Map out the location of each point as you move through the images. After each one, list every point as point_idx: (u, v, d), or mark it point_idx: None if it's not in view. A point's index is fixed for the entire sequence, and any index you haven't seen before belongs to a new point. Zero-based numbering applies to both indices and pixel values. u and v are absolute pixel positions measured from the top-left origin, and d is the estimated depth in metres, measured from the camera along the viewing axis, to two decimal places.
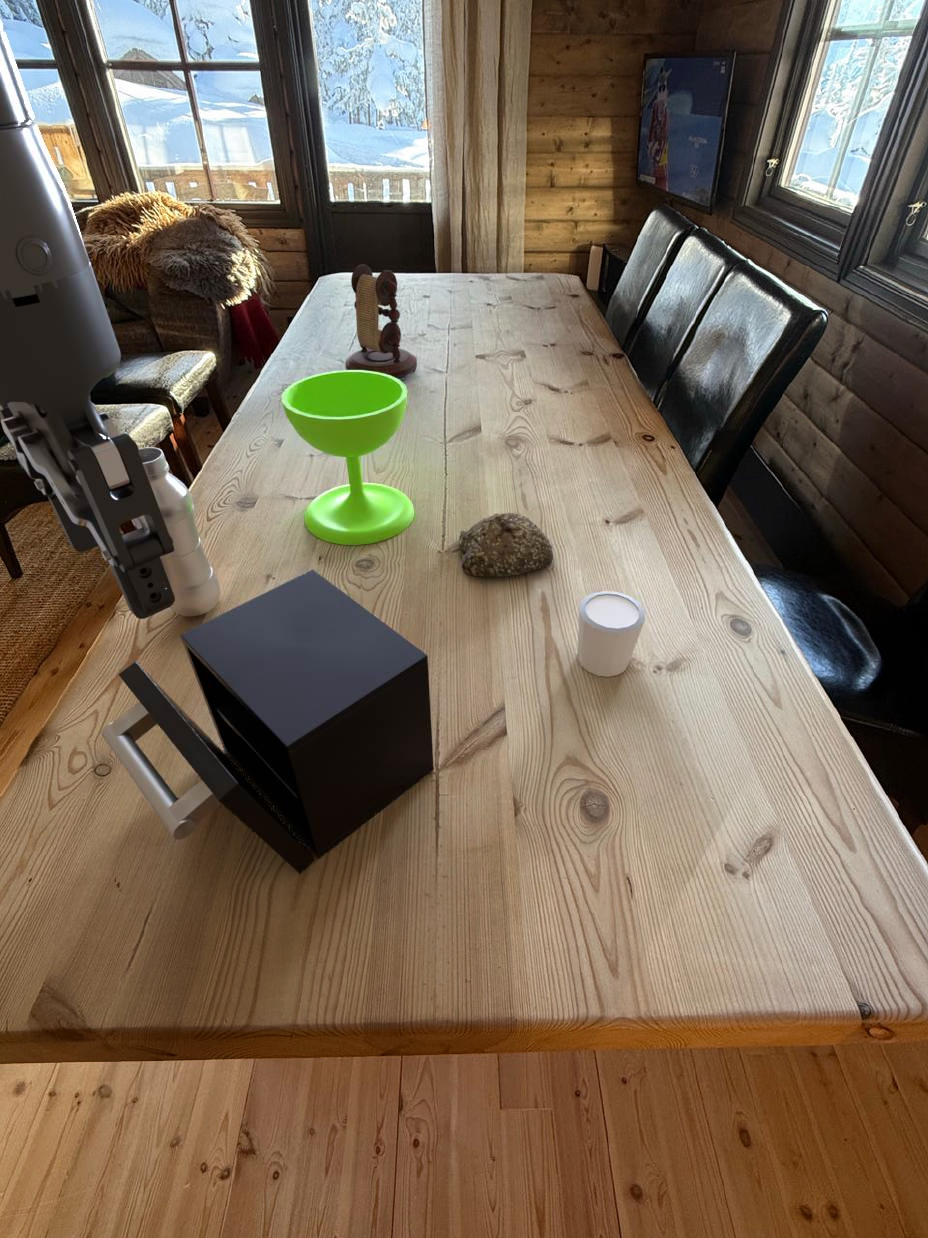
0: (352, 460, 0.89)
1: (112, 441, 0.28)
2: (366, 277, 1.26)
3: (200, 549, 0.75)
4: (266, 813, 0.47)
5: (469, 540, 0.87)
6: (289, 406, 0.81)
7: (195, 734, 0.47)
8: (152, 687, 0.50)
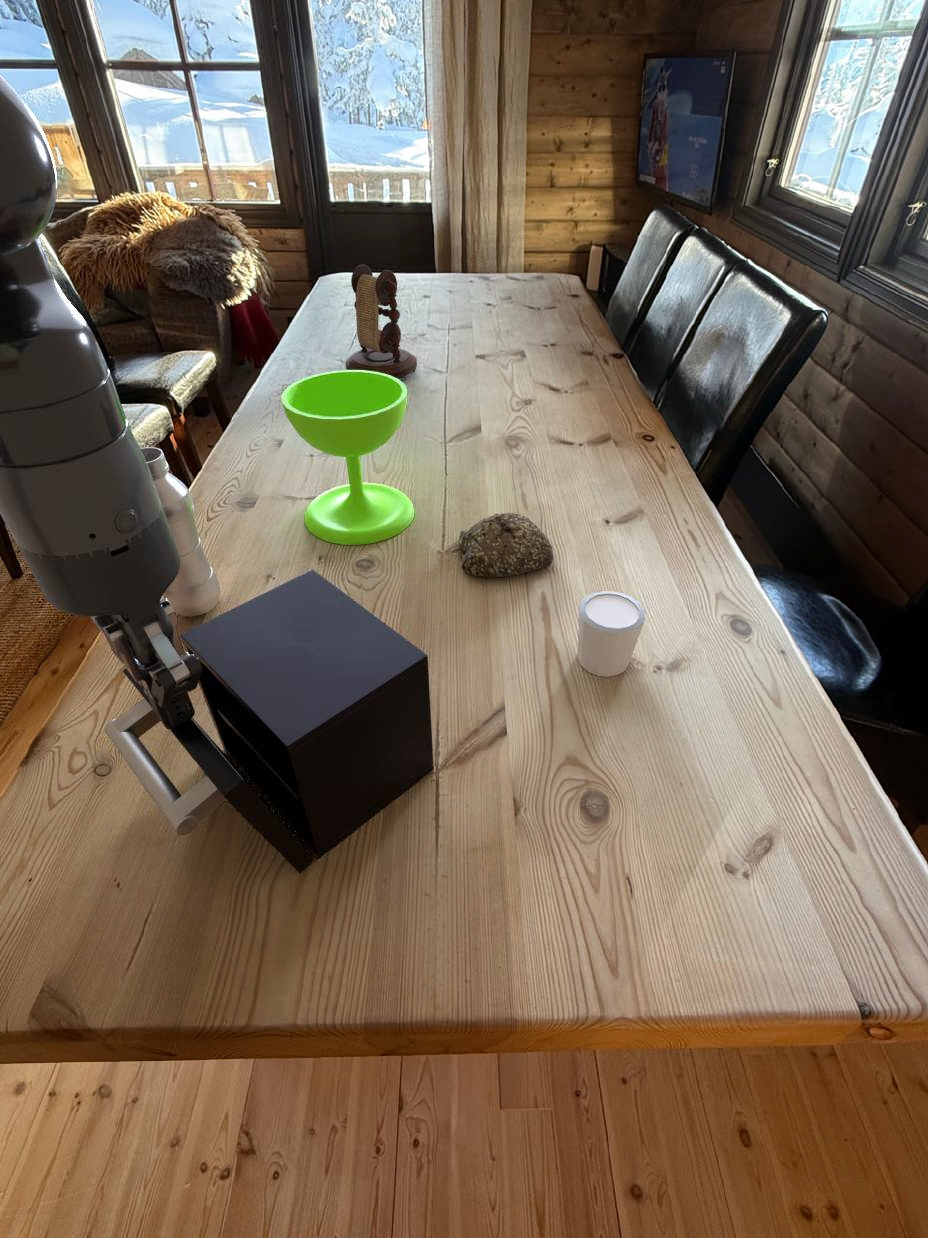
0: (352, 460, 0.89)
1: (188, 670, 0.39)
2: (366, 277, 1.26)
3: (200, 549, 0.75)
4: (269, 810, 0.47)
5: (469, 540, 0.87)
6: (289, 406, 0.81)
7: (200, 730, 0.47)
8: None
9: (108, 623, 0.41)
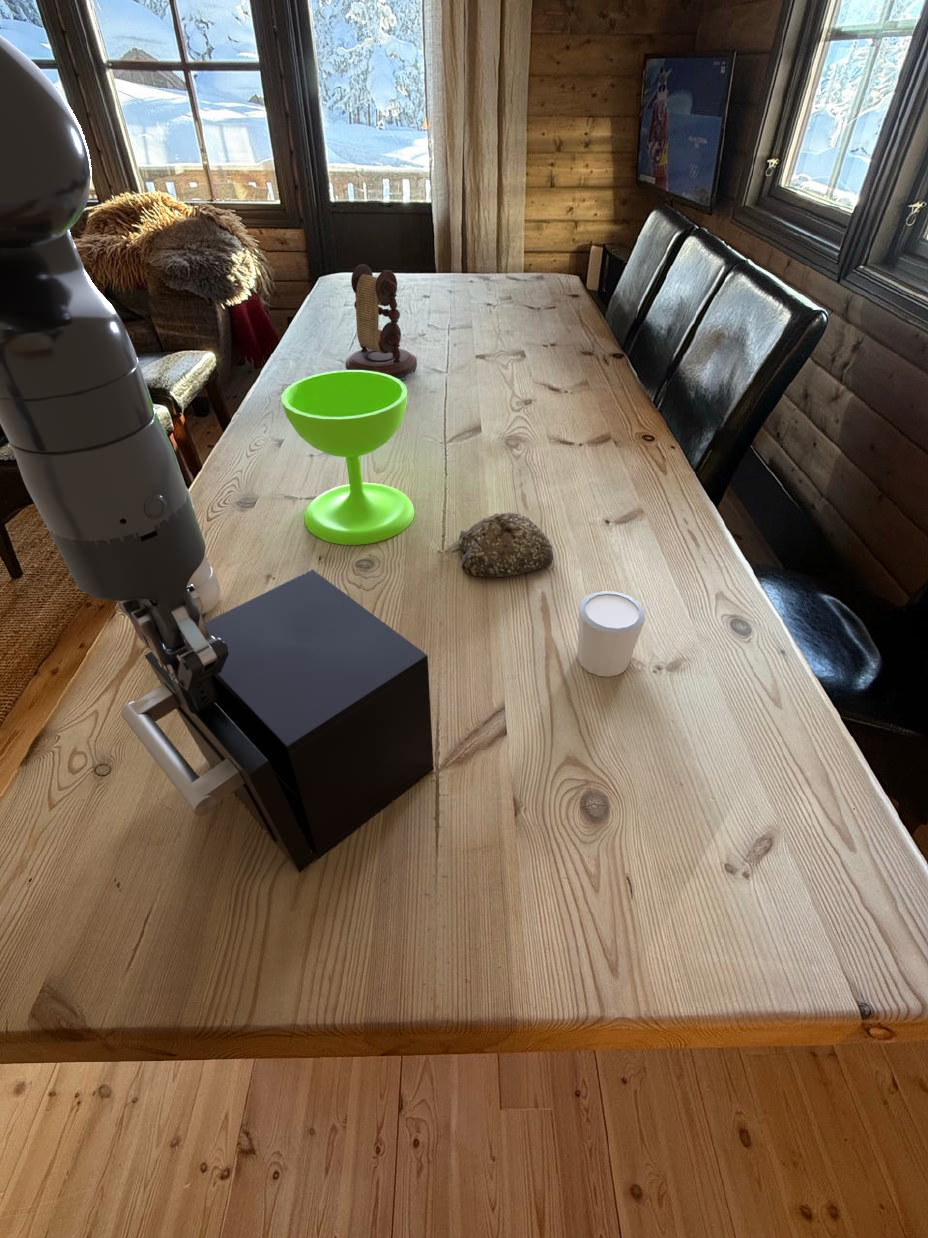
0: (352, 460, 0.89)
1: (215, 653, 0.39)
2: (366, 277, 1.26)
3: None
4: (285, 799, 0.48)
5: (469, 540, 0.87)
6: (289, 406, 0.81)
7: (224, 714, 0.48)
8: None
9: (135, 608, 0.42)
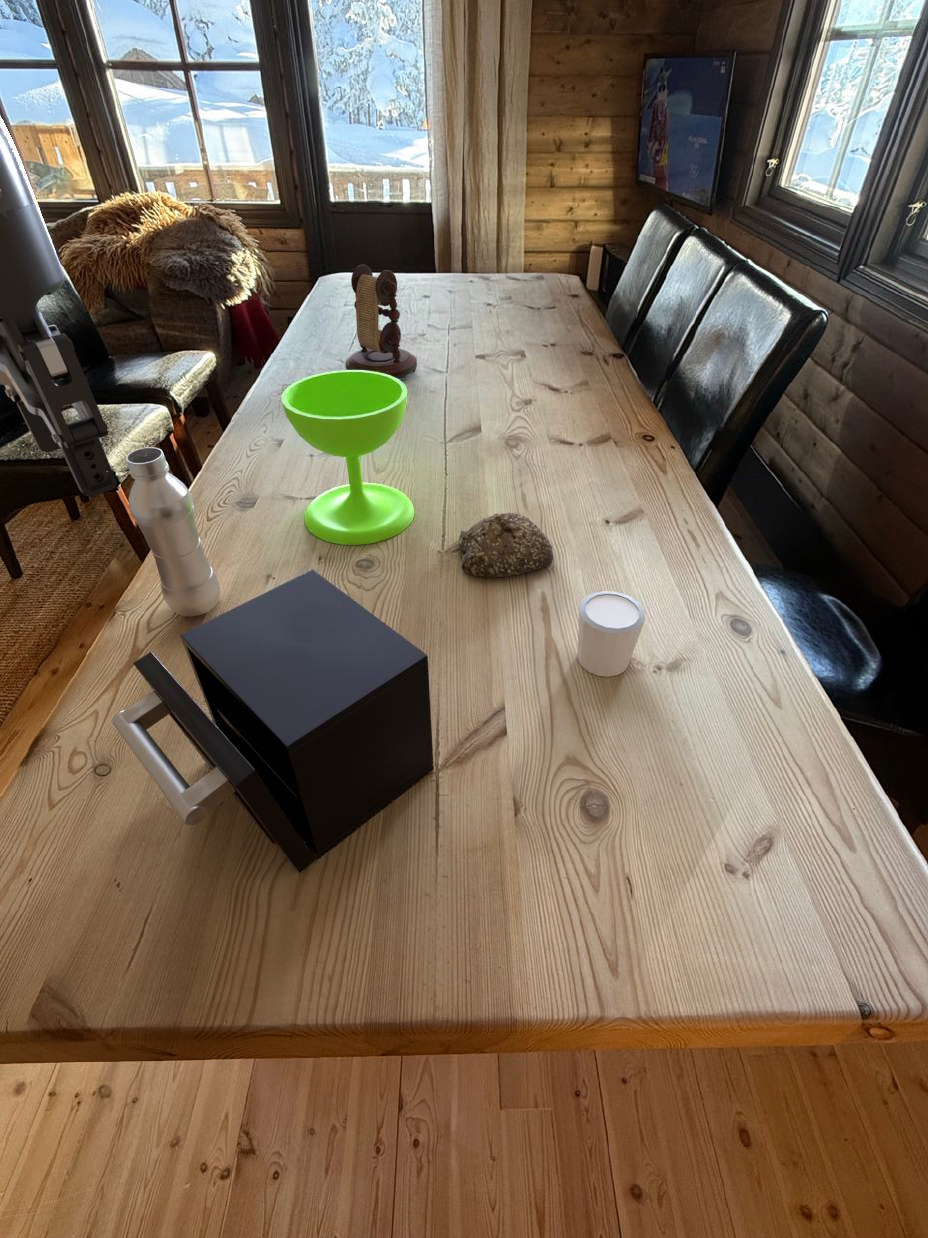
0: (352, 460, 0.89)
1: (52, 338, 0.36)
2: (366, 277, 1.26)
3: (200, 549, 0.75)
4: (276, 805, 0.47)
5: (469, 540, 0.87)
6: (289, 406, 0.81)
7: (211, 722, 0.47)
8: (167, 676, 0.51)
9: None
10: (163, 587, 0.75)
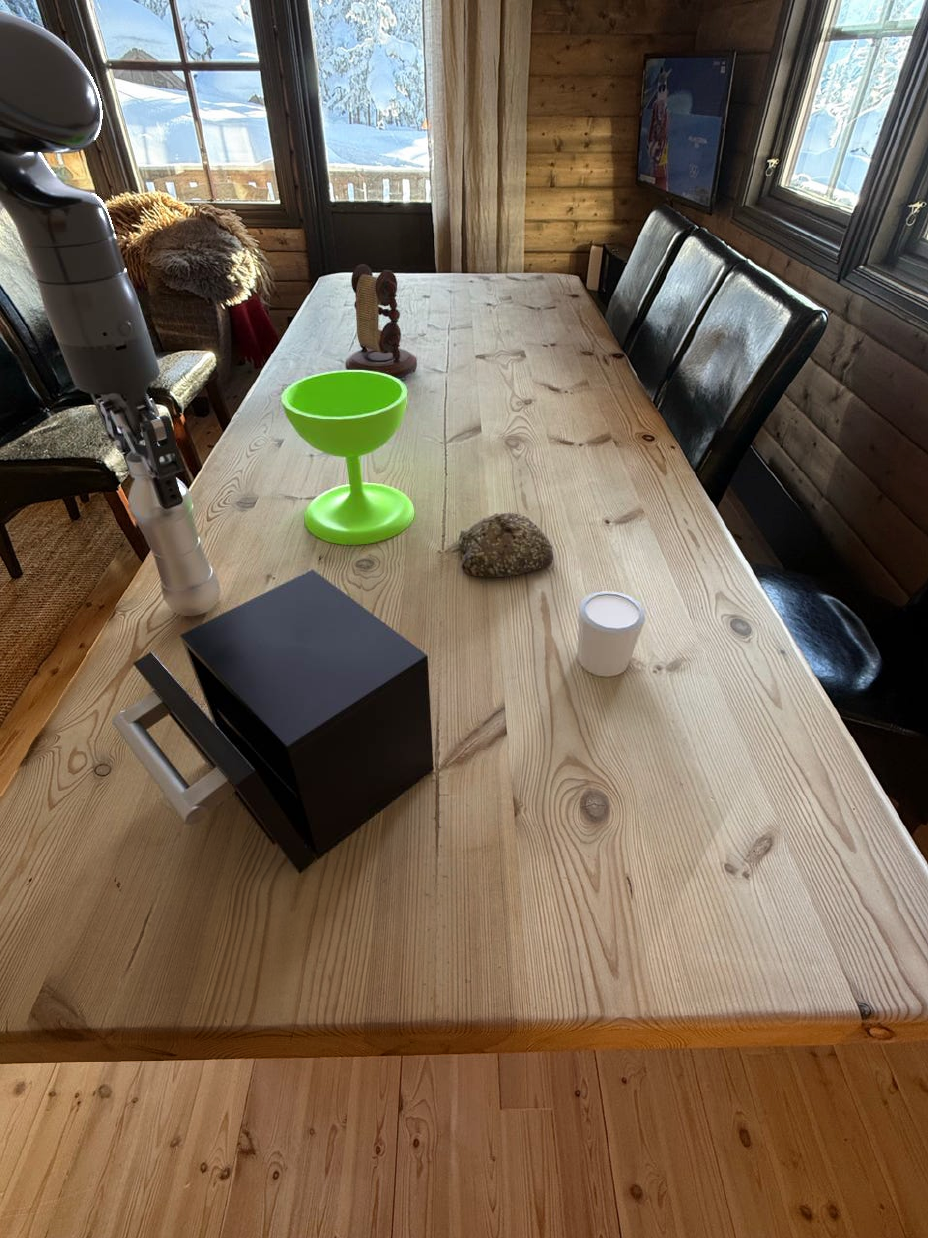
0: (352, 460, 0.89)
1: (160, 419, 0.60)
2: (366, 277, 1.26)
3: (200, 548, 0.75)
4: (276, 805, 0.47)
5: (469, 540, 0.87)
6: (289, 406, 0.81)
7: (211, 722, 0.47)
8: (167, 676, 0.51)
9: None
10: (163, 586, 0.75)
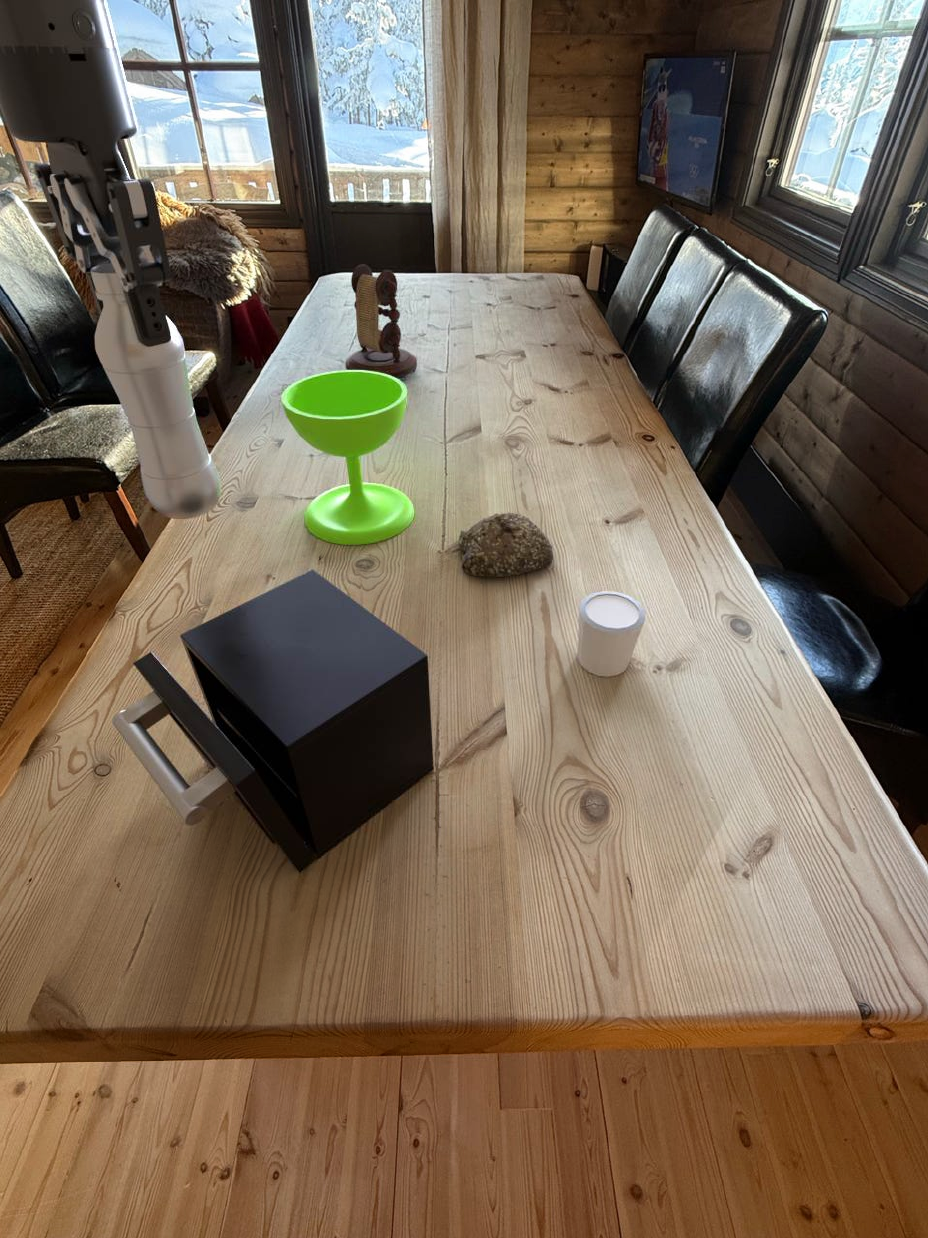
0: (352, 460, 0.89)
1: (138, 182, 0.40)
2: (366, 277, 1.26)
3: (194, 422, 0.55)
4: (276, 805, 0.47)
5: (469, 540, 0.87)
6: (289, 406, 0.81)
7: (211, 722, 0.47)
8: (167, 676, 0.51)
9: (70, 198, 0.44)
10: (144, 474, 0.56)
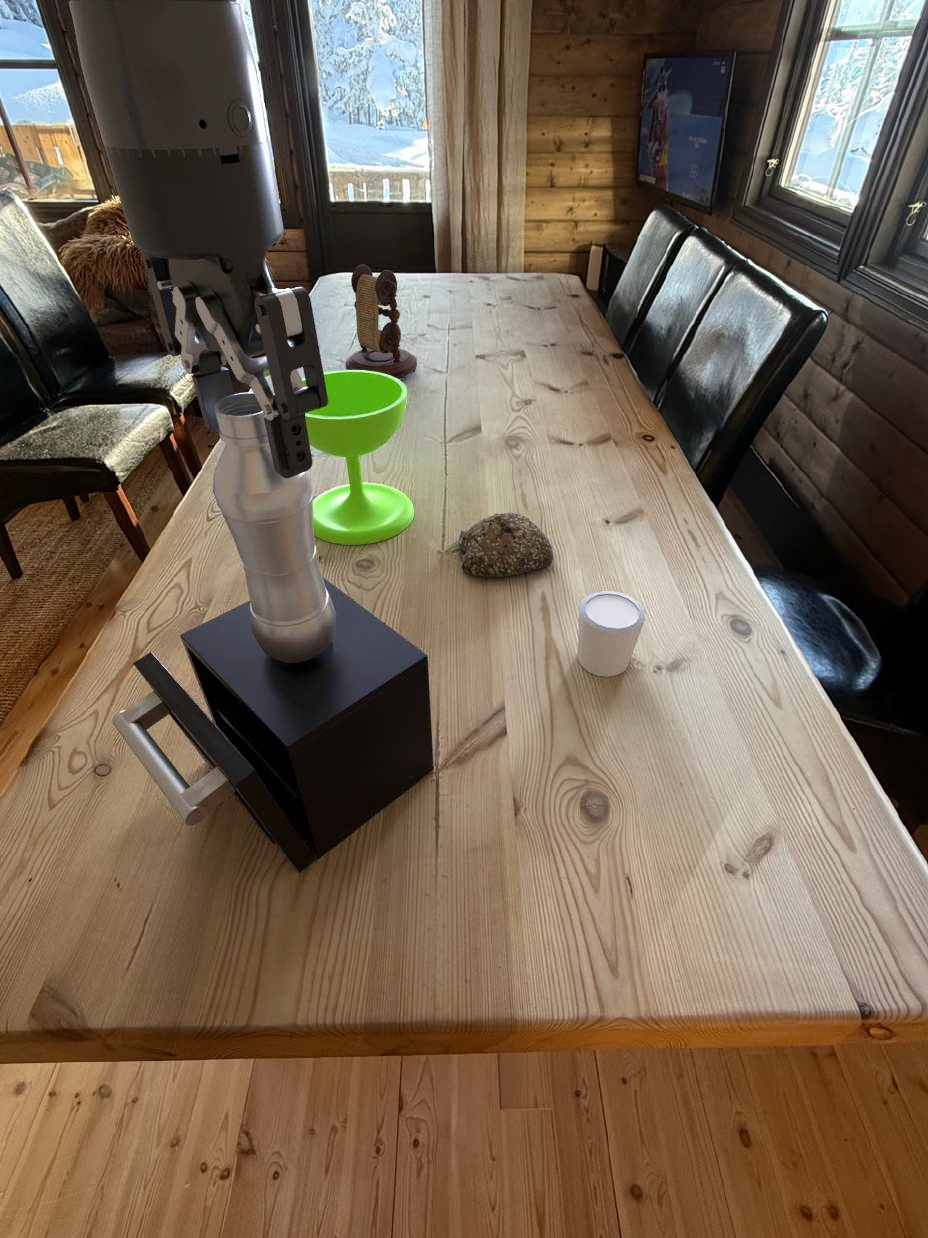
0: (352, 460, 0.89)
1: (291, 291, 0.32)
2: (366, 277, 1.26)
3: (316, 560, 0.47)
4: (276, 805, 0.47)
5: (469, 540, 0.87)
6: None
7: (211, 722, 0.47)
8: (167, 676, 0.51)
9: (194, 313, 0.36)
10: (257, 618, 0.48)
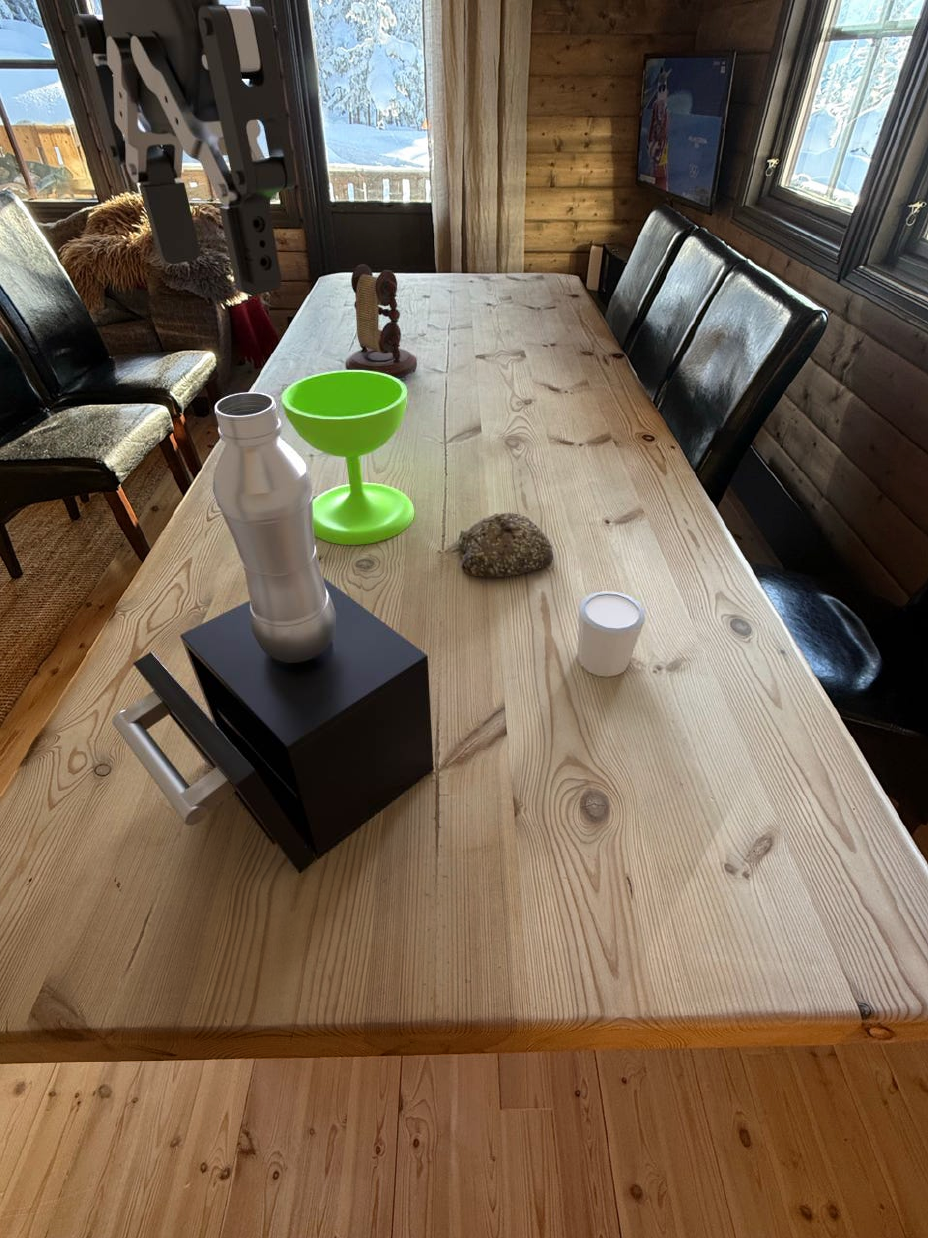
0: (352, 460, 0.89)
1: (246, 7, 0.25)
2: (366, 277, 1.26)
3: (316, 560, 0.47)
4: (276, 805, 0.47)
5: (469, 540, 0.87)
6: (289, 406, 0.81)
7: (211, 722, 0.47)
8: (167, 676, 0.51)
9: (134, 78, 0.30)
10: (257, 618, 0.48)
